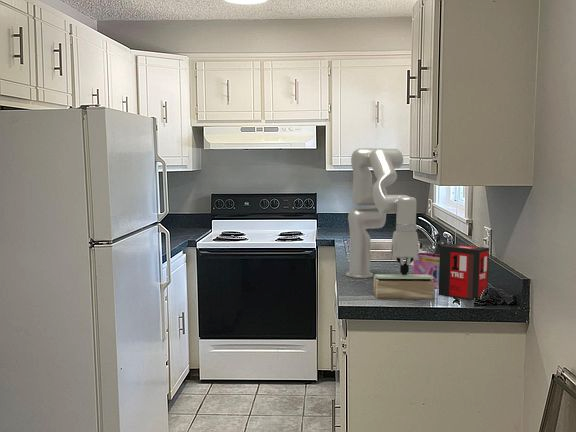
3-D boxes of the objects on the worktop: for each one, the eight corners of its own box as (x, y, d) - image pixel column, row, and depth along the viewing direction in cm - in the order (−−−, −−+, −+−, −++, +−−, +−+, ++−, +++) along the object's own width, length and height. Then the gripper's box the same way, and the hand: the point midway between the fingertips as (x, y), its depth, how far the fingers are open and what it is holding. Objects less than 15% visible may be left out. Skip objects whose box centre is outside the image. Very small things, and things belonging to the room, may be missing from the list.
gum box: (409, 285, 263) (410, 254, 262) (416, 282, 270) (417, 251, 269) (464, 292, 250) (465, 259, 249) (470, 289, 257) (471, 257, 255)
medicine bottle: (412, 263, 318) (412, 240, 317) (425, 264, 314) (425, 241, 313) (406, 265, 312) (407, 242, 311) (419, 266, 308) (420, 243, 307)
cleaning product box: (438, 295, 245) (440, 245, 243) (448, 291, 251) (450, 243, 249) (477, 301, 234) (479, 250, 232) (487, 297, 240) (489, 247, 238)
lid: (374, 276, 246) (374, 274, 246) (427, 276, 246) (427, 274, 246) (378, 278, 236) (378, 276, 236) (433, 278, 237) (433, 276, 237)
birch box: (373, 293, 247) (373, 276, 246) (427, 293, 247) (427, 276, 247) (377, 298, 237) (377, 281, 236) (433, 299, 237) (433, 281, 237)
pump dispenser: (426, 270, 297) (427, 240, 295) (439, 268, 304) (440, 238, 302) (444, 274, 289) (445, 242, 288) (456, 271, 296) (458, 240, 294)
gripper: (422, 227, 241) (420, 272, 243) (385, 226, 241) (383, 272, 243) (427, 229, 233) (425, 276, 235) (388, 229, 233) (387, 276, 235)
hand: (404, 274), depth 239 cm, fingers closed
